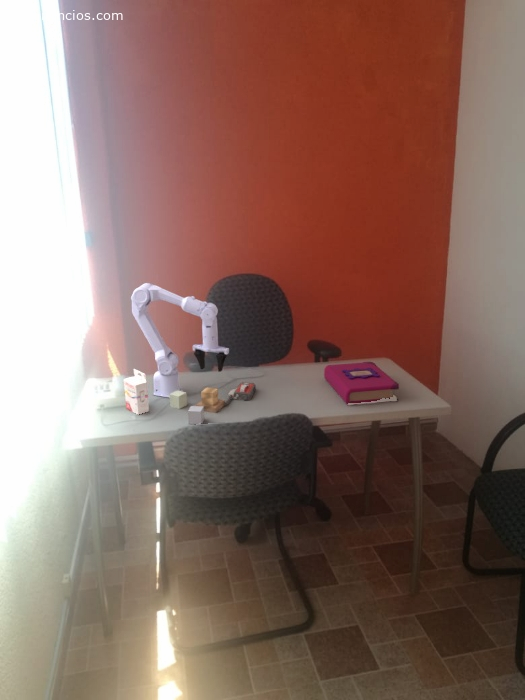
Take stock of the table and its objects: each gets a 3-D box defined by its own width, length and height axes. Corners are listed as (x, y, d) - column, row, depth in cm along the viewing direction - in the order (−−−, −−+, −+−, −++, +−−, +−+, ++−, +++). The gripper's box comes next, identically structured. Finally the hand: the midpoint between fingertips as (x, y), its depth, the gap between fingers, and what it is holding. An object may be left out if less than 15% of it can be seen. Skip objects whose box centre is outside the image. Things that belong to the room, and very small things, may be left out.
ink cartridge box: (125, 408, 204) (121, 371, 200) (137, 404, 208) (133, 367, 203) (138, 415, 199) (134, 377, 194) (149, 411, 202) (146, 373, 197)
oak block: (201, 404, 203) (201, 391, 201) (207, 399, 207) (206, 387, 205) (212, 406, 201) (212, 393, 200) (218, 401, 205) (217, 389, 204)
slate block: (188, 424, 191) (187, 411, 190) (191, 418, 196) (191, 405, 194) (201, 424, 191) (200, 411, 189) (204, 419, 195) (203, 406, 194)
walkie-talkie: (235, 387, 224) (222, 407, 206) (235, 377, 223) (222, 396, 204) (257, 389, 223) (245, 409, 204) (256, 379, 221) (245, 397, 203)
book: (346, 407, 205) (346, 388, 203) (323, 380, 231) (324, 363, 229) (399, 402, 209) (400, 383, 207) (371, 377, 235) (372, 360, 233)
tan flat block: (196, 411, 203) (195, 404, 202) (206, 403, 210) (205, 397, 210) (215, 414, 200) (215, 408, 200) (225, 406, 207) (225, 399, 207)
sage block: (169, 406, 206) (169, 394, 205) (177, 402, 210) (177, 390, 208) (179, 409, 204) (178, 396, 202) (187, 405, 207) (186, 392, 206)
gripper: (188, 336, 208) (189, 370, 213) (222, 340, 203) (223, 375, 207) (197, 331, 215) (198, 365, 219) (230, 335, 209) (231, 369, 213)
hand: (211, 369), depth 213 cm, fingers open, 7 cm apart
